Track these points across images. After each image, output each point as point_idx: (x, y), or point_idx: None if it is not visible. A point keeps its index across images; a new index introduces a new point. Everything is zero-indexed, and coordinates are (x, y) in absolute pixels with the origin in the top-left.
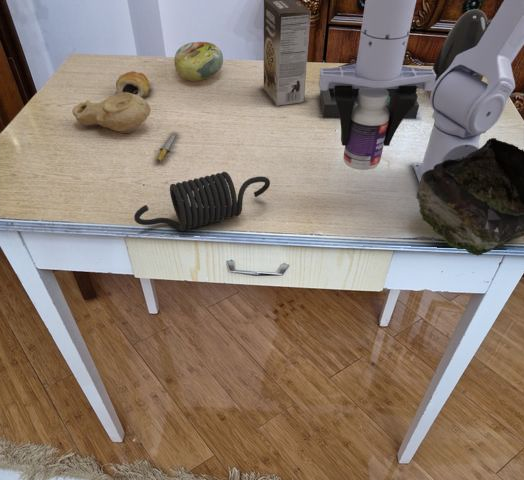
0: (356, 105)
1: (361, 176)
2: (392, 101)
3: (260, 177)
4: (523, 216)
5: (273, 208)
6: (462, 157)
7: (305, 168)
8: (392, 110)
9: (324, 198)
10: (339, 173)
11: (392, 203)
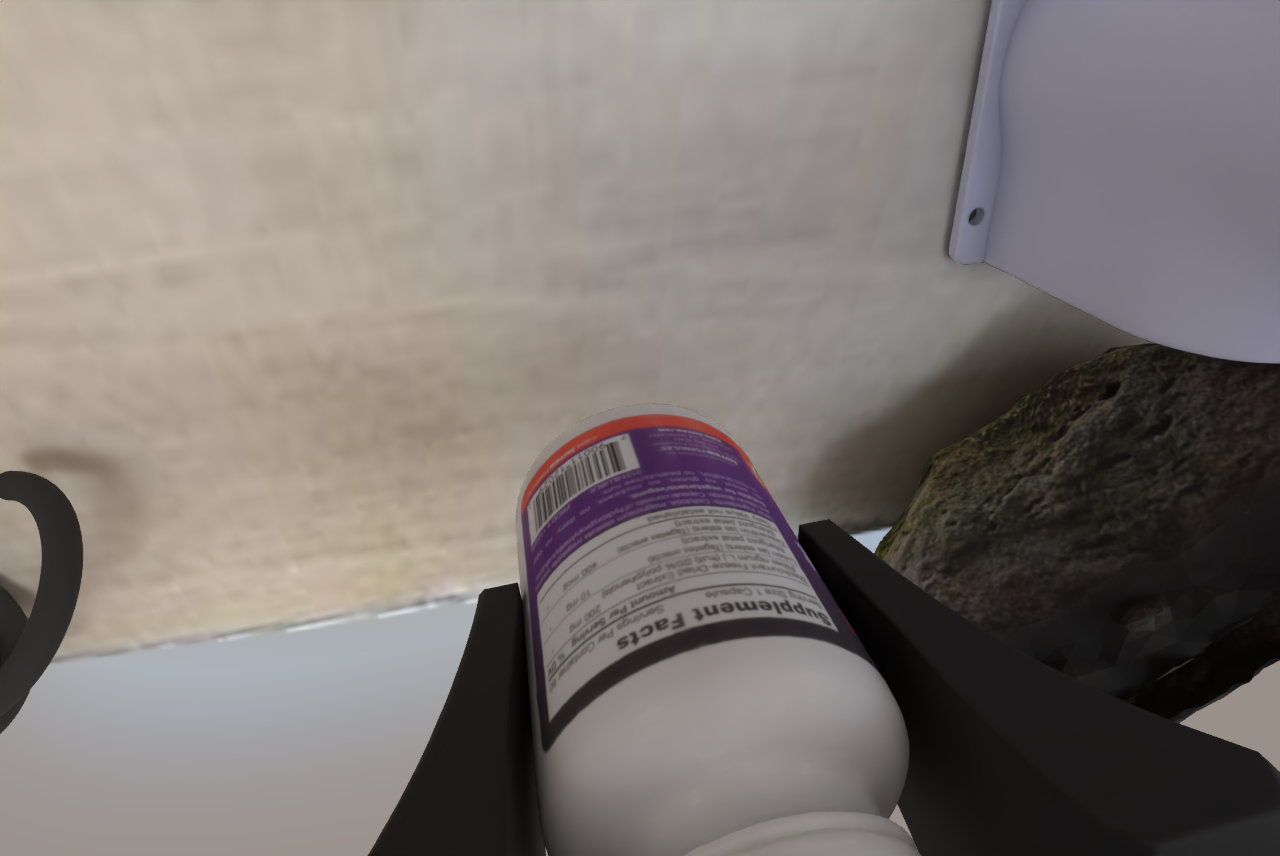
0: (604, 848)
1: (642, 82)
2: (981, 828)
3: (12, 696)
4: (1171, 706)
5: (177, 489)
6: (1165, 673)
7: (209, 4)
8: (936, 808)
9: (432, 360)
10: (490, 57)
11: (779, 340)
